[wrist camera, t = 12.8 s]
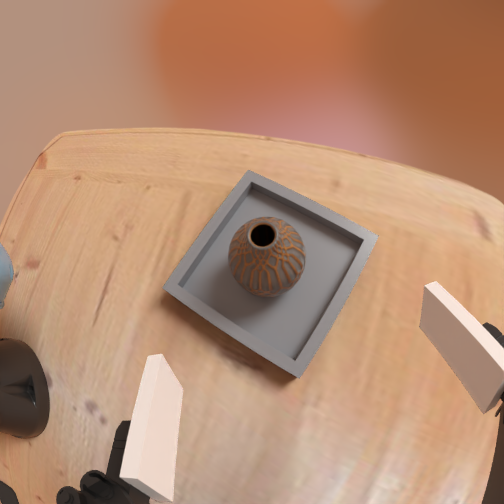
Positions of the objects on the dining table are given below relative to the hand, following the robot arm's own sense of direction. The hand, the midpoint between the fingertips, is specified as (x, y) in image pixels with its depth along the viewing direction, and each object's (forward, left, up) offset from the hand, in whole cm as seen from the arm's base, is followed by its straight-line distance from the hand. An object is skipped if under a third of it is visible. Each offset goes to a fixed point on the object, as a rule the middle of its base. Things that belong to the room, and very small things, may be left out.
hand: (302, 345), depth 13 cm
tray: (-6, +6, -16) cm, 18 cm away
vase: (-6, +6, -15) cm, 17 cm away
